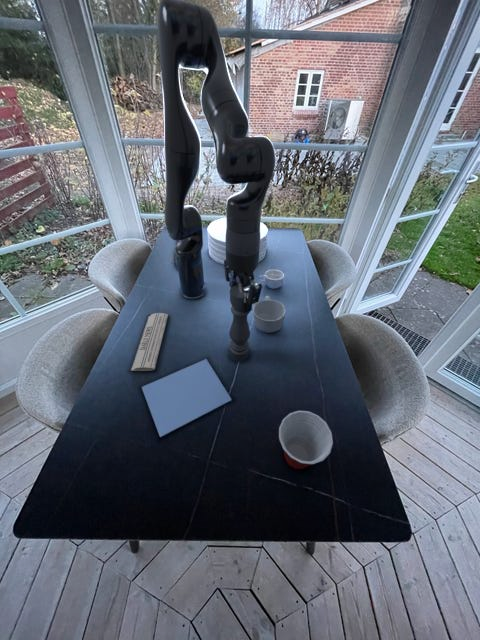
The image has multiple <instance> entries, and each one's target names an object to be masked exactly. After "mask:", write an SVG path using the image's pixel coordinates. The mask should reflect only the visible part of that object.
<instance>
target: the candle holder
mask: <svg viewBox="0 0 480 640" xmlns="http://www.w3.org/2000/svg"><path fill="white" fill-rule="evenodd" d="M249 287H250V285H249V286H248V287H245V288H243V289H247V288H249ZM248 295H249V293H247V294H246V296H247V297H248ZM229 303H230V305H231V307H230V312H231V314H232V316H233V317H232V318H233V319H232V322H231V326H230V329H229V333H228V335H229V338H230V339H231V340H230V343H229V348H228V349H229V350H228V351H229V352H228V353H229V357H230V359H231V360H233V361H235V362H238V363H239V362H244V361H246V360H247V359H248V358H249V355H250V344H249V339H250V338H251V330H250V326H249V323H248V315H249V314H250V312H251V311H250V312H247V313H244V312H243V296H242V294H241V293H240V290H239V285H235V286H233V287H232V288H231V287H230V289H229Z"/></svg>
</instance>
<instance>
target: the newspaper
mask: <svg viewBox="0 0 480 640" xmlns="http://www.w3.org/2000/svg"><path fill="white" fill-rule="evenodd" d="M168 319H169V314H168V313H164V312H154V313H151V314H150V315H149V316H148V318H147V320H146V324H145V326H144V329H143V332H142V336H141V339H140V341H139V345H138V348H137V351H136V354H135V357H134V360H133V363H132V366H131V369H130V371H131V372H132V371H135V372H136V371H137V372H151V371H152V372H153V371H155V370H156V366H157V362H158V358H159V354H160V350H161V346H162V343H163V339H164V334H165V330H166V327H167V322H168Z"/></svg>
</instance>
